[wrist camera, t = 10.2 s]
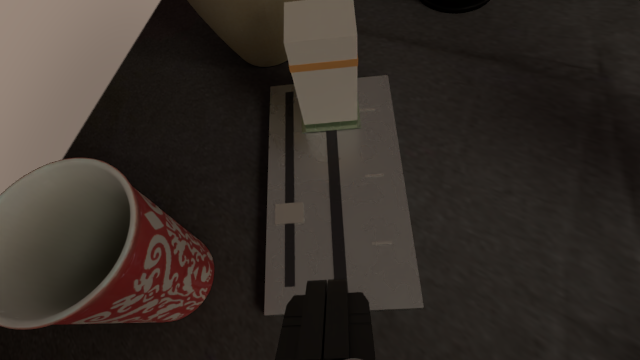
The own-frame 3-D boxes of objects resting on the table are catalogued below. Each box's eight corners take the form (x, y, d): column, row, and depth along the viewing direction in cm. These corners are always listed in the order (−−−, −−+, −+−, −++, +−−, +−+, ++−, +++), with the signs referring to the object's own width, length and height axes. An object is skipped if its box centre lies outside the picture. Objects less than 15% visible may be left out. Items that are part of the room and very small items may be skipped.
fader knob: (354, 85, 34) (353, -6, 25) (357, 120, 32) (358, 35, 23) (303, 90, 34) (283, 2, 25) (303, 125, 32) (283, 43, 23)
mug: (210, 209, 32) (119, 132, 20) (239, 303, 28) (149, 279, 16) (79, 266, 31) (-102, 222, 19) (91, 372, 27) (-125, 402, 15)
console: (386, 84, 36) (388, 67, 34) (420, 309, 27) (426, 306, 24) (273, 95, 37) (268, 80, 35) (268, 316, 28) (260, 314, 25)
